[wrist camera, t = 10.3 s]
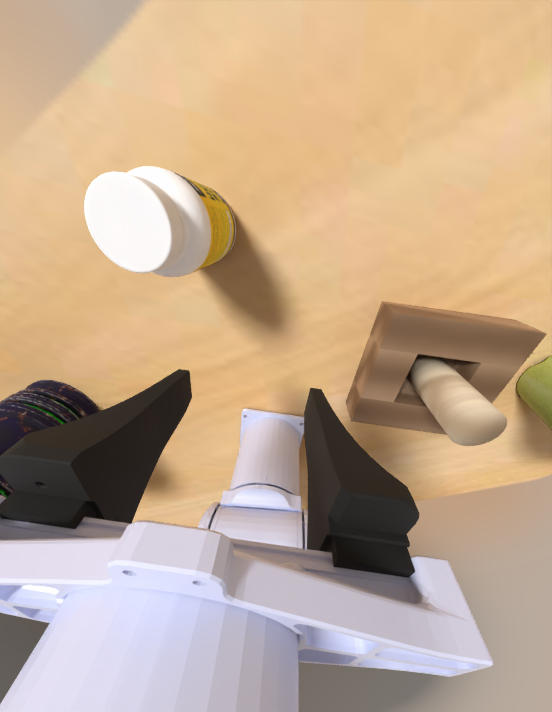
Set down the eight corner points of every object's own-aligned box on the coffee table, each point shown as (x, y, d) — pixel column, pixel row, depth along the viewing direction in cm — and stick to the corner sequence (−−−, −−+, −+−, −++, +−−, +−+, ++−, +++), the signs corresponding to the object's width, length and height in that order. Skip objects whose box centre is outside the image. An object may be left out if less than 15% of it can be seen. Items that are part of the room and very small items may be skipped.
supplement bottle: (240, 192, 17) (186, 163, 9) (235, 267, 20) (190, 299, 12) (169, 179, 17) (47, 136, 9) (173, 255, 20) (84, 279, 12)
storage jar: (111, 438, 33) (-6, 573, 20) (45, 429, 34) (-111, 558, 21) (89, 384, 28) (-83, 518, 15) (12, 374, 29) (-222, 498, 16)
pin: (434, 383, 24) (490, 448, 17) (398, 380, 24) (440, 443, 17) (448, 353, 22) (518, 411, 15) (410, 350, 22) (461, 407, 15)
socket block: (448, 416, 27) (464, 437, 24) (345, 401, 27) (351, 421, 24) (515, 319, 21) (546, 333, 18) (382, 301, 21) (394, 312, 18)
